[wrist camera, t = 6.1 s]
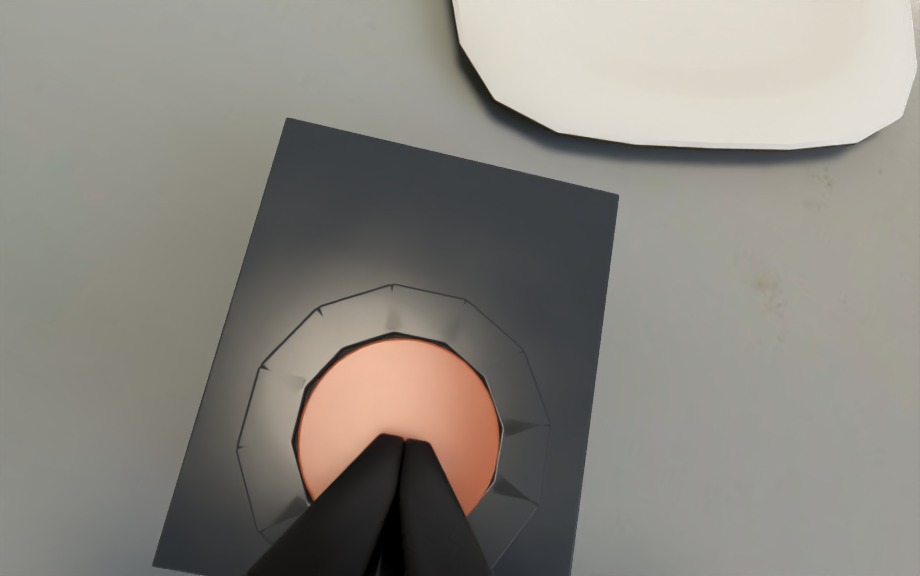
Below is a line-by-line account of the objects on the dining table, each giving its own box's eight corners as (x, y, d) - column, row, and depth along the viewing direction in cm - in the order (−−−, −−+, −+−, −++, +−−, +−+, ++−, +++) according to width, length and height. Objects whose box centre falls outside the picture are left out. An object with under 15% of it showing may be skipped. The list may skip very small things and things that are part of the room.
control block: (510, 572, 20) (587, 669, 12) (225, 521, 19) (113, 589, 11) (559, 253, 23) (646, 167, 15) (314, 199, 22) (273, 79, 14)
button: (466, 541, 13) (481, 563, 11) (291, 509, 12) (272, 526, 11) (496, 368, 14) (514, 359, 12) (334, 334, 13) (325, 319, 11)
